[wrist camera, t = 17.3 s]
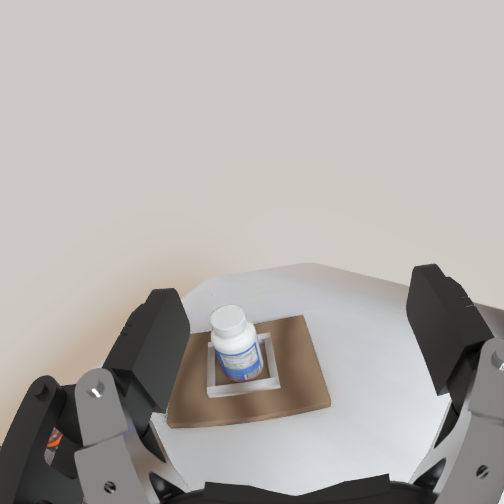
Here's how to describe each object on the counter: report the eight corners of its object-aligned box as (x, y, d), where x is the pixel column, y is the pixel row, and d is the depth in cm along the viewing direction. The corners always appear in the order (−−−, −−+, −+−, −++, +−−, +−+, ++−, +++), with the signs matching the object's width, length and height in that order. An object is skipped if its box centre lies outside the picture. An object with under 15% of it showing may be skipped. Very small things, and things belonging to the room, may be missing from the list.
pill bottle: (228, 352, 39) (211, 300, 34) (266, 352, 38) (255, 299, 33) (220, 382, 34) (198, 332, 29) (260, 384, 33) (247, 333, 28)
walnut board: (303, 321, 44) (302, 309, 42) (330, 406, 30) (331, 395, 28) (180, 342, 44) (175, 330, 42) (171, 428, 30) (163, 419, 28)
